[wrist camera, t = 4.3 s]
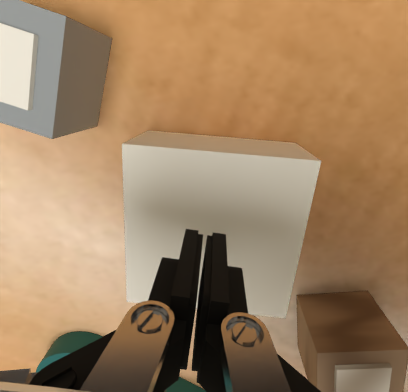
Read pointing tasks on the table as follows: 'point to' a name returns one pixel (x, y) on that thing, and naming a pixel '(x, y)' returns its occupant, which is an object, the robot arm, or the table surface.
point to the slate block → (49, 70)
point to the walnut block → (349, 344)
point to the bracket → (73, 341)
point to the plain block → (218, 208)
